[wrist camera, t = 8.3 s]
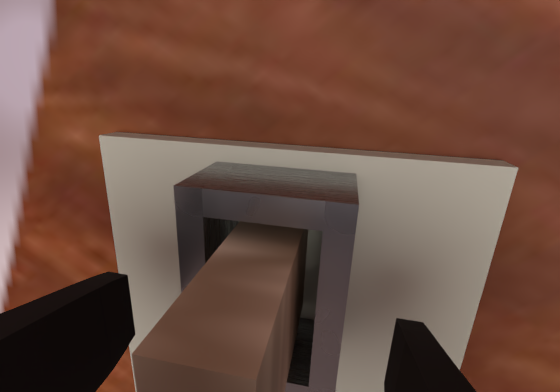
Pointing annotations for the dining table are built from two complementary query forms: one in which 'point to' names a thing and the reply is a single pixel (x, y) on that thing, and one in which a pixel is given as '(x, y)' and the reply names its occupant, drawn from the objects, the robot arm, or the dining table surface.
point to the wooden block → (231, 318)
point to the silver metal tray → (288, 213)
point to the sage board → (368, 238)
